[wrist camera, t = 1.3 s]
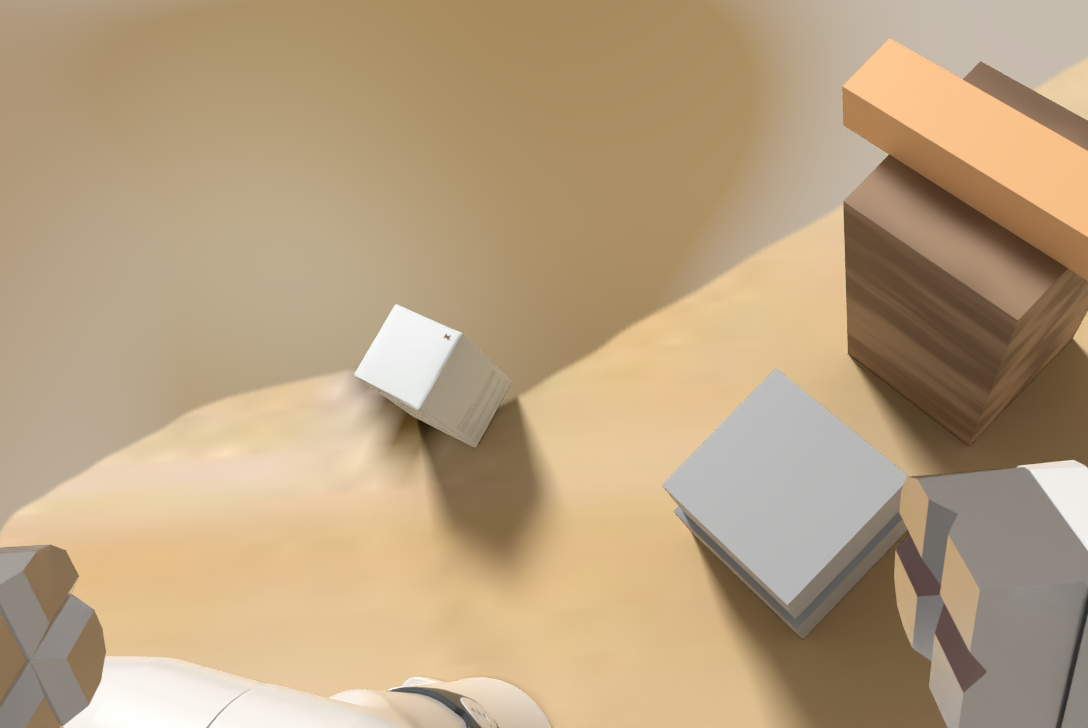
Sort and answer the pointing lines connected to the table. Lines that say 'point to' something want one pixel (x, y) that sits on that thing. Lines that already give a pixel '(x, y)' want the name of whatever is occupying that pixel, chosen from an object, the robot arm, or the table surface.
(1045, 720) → the robot arm
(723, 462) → the slate pedestal
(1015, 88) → the walnut post
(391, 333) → the supplement box
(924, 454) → the table surface
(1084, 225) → the orange bar
